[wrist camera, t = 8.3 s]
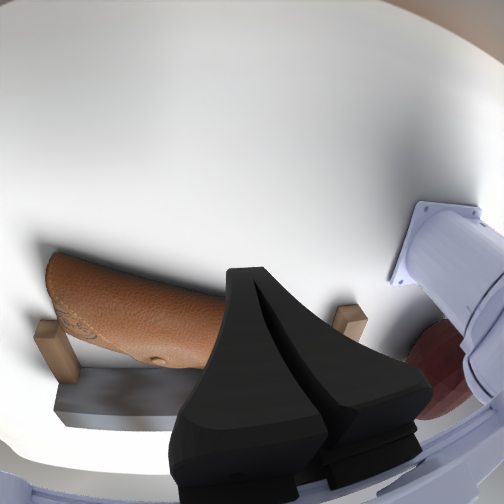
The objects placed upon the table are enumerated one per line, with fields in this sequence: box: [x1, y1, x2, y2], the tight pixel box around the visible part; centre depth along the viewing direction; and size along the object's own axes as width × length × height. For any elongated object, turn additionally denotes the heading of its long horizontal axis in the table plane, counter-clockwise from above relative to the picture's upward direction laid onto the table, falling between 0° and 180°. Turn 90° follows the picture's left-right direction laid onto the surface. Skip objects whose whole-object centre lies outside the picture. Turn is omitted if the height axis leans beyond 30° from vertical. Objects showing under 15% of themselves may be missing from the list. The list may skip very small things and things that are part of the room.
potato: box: [405, 319, 473, 420], centre depth 28 cm, size 11×13×10 cm
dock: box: [34, 304, 368, 431], centre depth 23 cm, size 27×9×5 cm, turn 85°
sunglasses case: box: [45, 252, 226, 369], centre depth 21 cm, size 18×7×7 cm
